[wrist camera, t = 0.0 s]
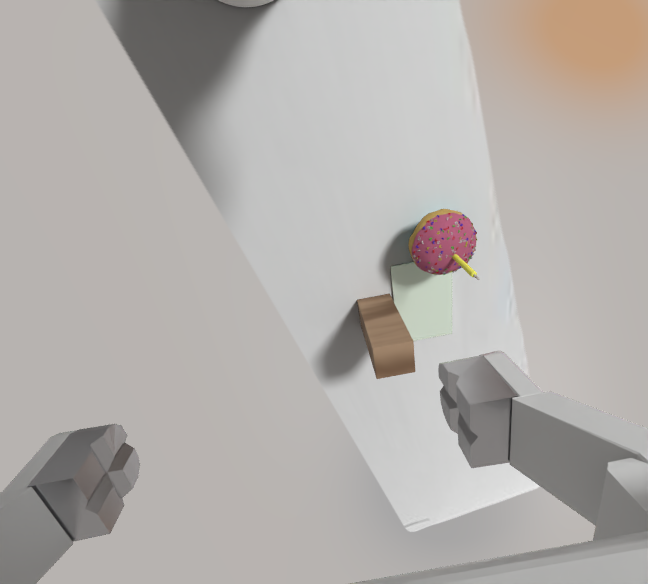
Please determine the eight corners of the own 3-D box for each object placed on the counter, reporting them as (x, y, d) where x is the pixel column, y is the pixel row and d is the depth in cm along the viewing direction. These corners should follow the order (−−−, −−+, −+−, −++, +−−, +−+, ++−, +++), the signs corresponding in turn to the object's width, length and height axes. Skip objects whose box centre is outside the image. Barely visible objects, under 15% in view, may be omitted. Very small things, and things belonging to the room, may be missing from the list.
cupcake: (472, 230, 49) (521, 264, 38) (426, 271, 51) (460, 314, 41) (434, 188, 45) (477, 213, 35) (387, 235, 48) (413, 271, 37)
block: (357, 299, 53) (372, 348, 42) (389, 293, 52) (413, 340, 42) (361, 326, 55) (376, 379, 44) (392, 320, 55) (415, 371, 44)
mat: (390, 266, 50) (390, 267, 50) (451, 254, 50) (452, 255, 50) (397, 342, 57) (397, 343, 57) (451, 332, 57) (452, 333, 57)
